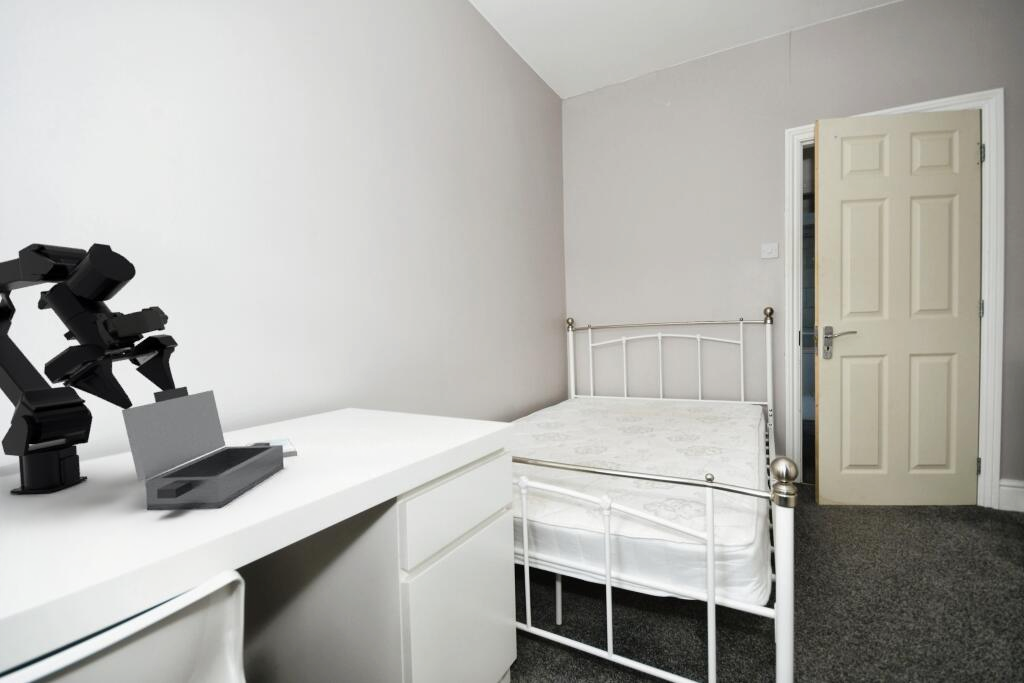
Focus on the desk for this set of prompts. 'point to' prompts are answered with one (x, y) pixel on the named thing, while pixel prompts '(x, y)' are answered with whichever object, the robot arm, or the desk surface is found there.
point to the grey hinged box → (214, 477)
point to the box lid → (172, 430)
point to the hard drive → (287, 446)
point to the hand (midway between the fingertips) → (152, 400)
